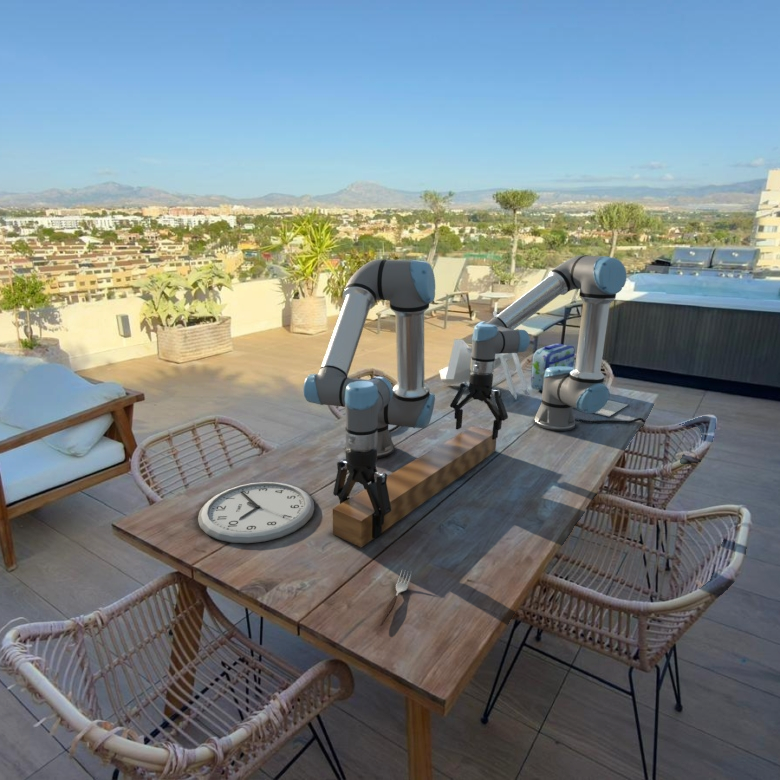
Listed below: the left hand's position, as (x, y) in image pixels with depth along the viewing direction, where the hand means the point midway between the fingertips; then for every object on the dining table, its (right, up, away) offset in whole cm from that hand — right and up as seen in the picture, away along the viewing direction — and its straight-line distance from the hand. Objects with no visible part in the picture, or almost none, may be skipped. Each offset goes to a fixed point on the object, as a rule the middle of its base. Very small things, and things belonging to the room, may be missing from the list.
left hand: (361, 529), depth 131 cm
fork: (+8, -8, -25) cm, 27 cm away
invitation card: (+99, +27, +95) cm, 140 cm away
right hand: (+36, +20, +45) cm, 61 cm away
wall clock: (-28, +2, +8) cm, 29 cm away
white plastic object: (+49, +34, +112) cm, 127 cm away
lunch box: (+85, +36, +121) cm, 152 cm away
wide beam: (+18, +6, +23) cm, 30 cm away
